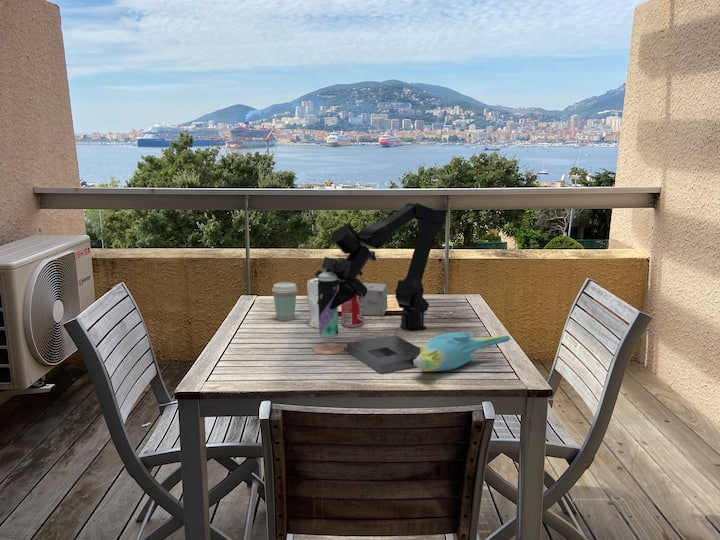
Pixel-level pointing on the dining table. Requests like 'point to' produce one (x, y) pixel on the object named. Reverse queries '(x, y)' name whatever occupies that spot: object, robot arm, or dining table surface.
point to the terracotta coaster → (328, 348)
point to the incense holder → (375, 299)
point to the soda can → (352, 312)
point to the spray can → (327, 304)
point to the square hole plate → (385, 353)
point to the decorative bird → (451, 351)
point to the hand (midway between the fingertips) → (324, 306)
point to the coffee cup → (285, 300)
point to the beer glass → (313, 302)
